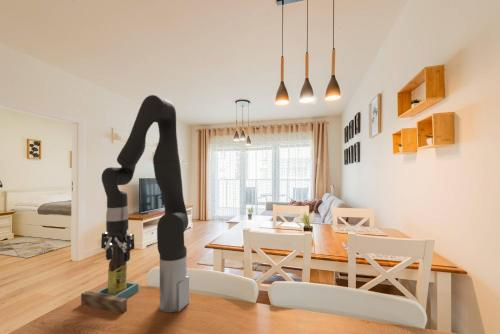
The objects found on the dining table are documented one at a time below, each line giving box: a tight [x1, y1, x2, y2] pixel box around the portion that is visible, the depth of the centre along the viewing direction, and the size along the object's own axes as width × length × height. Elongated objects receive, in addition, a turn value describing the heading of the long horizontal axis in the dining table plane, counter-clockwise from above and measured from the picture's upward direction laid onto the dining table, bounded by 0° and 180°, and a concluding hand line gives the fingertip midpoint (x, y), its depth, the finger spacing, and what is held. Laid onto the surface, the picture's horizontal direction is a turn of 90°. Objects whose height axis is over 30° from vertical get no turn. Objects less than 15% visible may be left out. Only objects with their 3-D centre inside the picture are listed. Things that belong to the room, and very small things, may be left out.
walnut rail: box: [80, 290, 128, 314], centre depth 83 cm, size 19×2×4 cm, turn 72°
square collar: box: [95, 281, 139, 300], centre depth 90 cm, size 10×11×3 cm
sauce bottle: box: [107, 242, 128, 295], centre depth 91 cm, size 6×6×20 cm
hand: (117, 260), depth 91 cm, fingers open, 8 cm apart
